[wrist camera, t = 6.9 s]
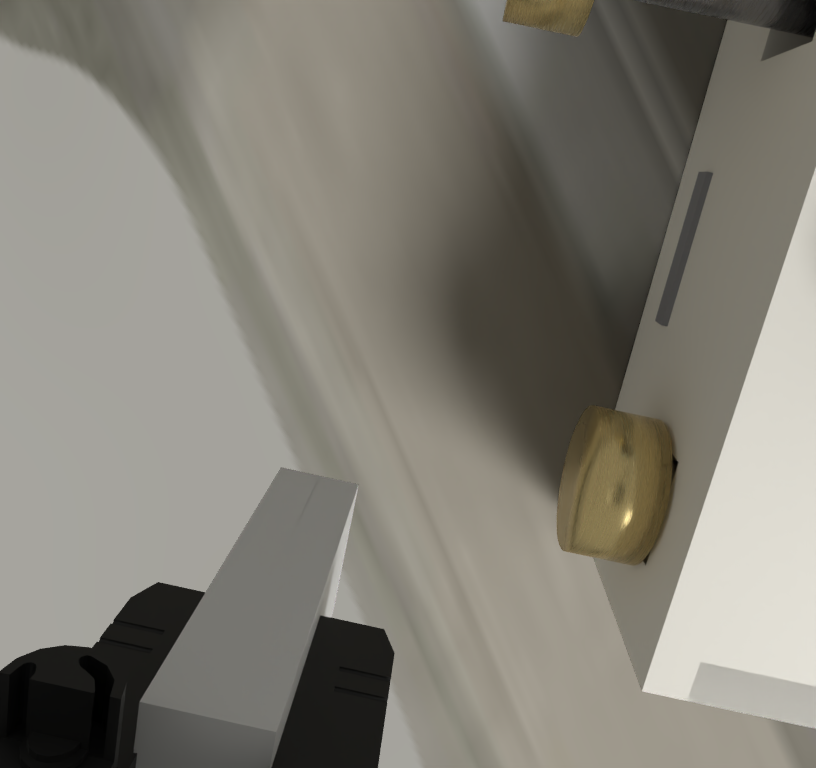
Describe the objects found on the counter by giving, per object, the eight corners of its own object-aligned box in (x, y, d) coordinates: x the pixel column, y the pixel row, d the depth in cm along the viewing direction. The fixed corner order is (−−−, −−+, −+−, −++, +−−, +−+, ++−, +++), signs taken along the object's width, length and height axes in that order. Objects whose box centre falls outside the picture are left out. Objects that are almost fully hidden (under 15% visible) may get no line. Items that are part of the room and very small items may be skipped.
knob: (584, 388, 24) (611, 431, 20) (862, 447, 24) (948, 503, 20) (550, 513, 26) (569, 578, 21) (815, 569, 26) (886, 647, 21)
